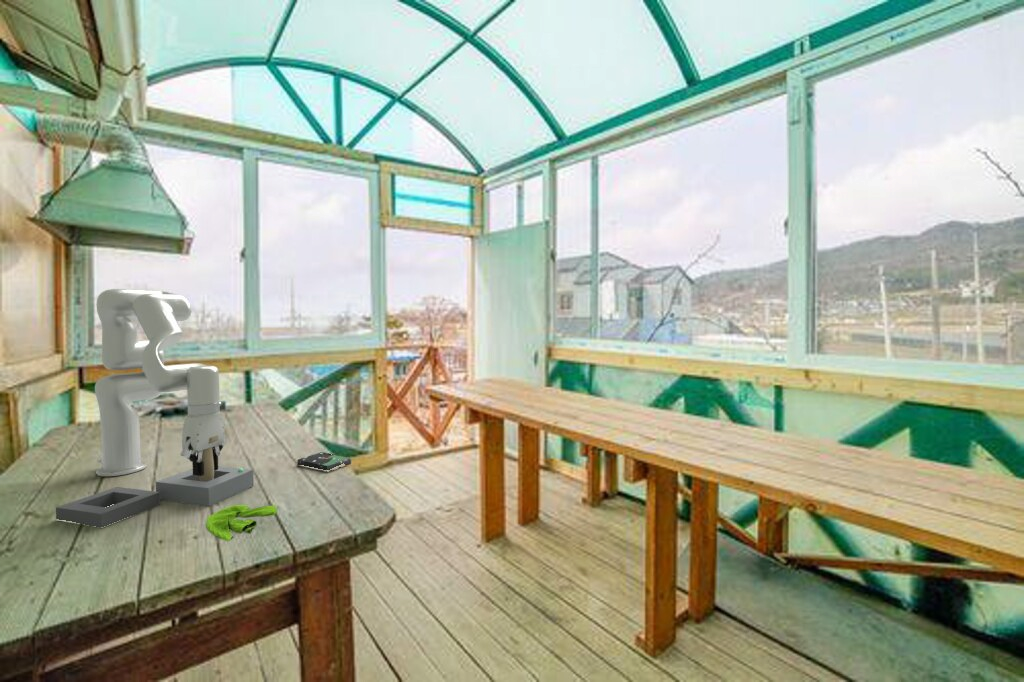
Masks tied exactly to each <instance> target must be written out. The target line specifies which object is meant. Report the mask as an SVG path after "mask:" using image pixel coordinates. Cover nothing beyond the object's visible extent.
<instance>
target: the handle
mask: <svg viewBox="0 0 1024 682" xmlns="http://www.w3.org/2000/svg"><path fill="white" fill-rule="evenodd" d="M209 440H210V442H208V444H210V443H213V442H215V441H217V440H218V436H214V437H211V438H209ZM201 461H203V462H204V475H202V476H198V480H199V481H203V482H208V481H210V480H213V479H214V460H213V450H212V448H209V449H206V450H203V453H202V460H201Z"/></svg>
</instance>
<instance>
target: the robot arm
mask: <svg viewBox="0 0 1024 682" xmlns="http://www.w3.org/2000/svg"><path fill="white" fill-rule="evenodd" d="M96 312H97V315H98V318H99V320H100V324H101V330H102V331H101V362H102V365H103V366H104V368H105V369H107V370H110V371H130V370H139V369H140V370H141V371H140V372H126V373H125V372H124V373H116V374H108V375H105V376H102V377H101V378H100V379H98V380H97V381H96V382H95V385H94V393H95V394H94V395H95V397H96V400H97V406H98V410H99V419H100V436H101V437H100V438H101V439H100V441H101V458H98V459H97V460H96V463H97V464H100V465H101V466H100V468H98V469H97V470H95V472H96V473H95V475H96V474H97V476H98V477H117V476H124V475H129V474H132V473H136V472H139V471H141V470H144V469H145V468H146V467H147V465H148V463H147V461H144V460H142V459H141V457H142V456H141V437H140V434H141V433H140V432H141V431H140V416H139V412H138V411H137V410H136V409H135V408H134V406H132V405H131V403H135V402H139V401H140V402H141V401H146V400H152V399H156V398H158V397H159V396H160V395H162V393H172V392H179V391H186V390H187V393H186V395H187V415H185V418H184V420H183V421H184V422H183V426H182V433H181V437H182V438H181V445H182V446H181V447H182V448H181V449H182V450H181V452H180V456H181V457H183V458H187V460H189V461H190V462H192V469H193V475H197V476H202V475H204V462H203V461H201V460H202V453H203V450H206V449H209V448H212V450H213V460H214V470H218V466H219V456H220V455H221V451H222V450H223V448H224V446H225V445H227V443H228V440H227V438H226V436H225V434H226V433H225V424H224V418H223V414H222V411H221V409H220V408H221V406H222V402H221V401H220V372H219V368H218V367H217V366H214V365H206V364H203V363H201V362H200V363H198V362H192V363H179V364H169V365H165V352H164V350H166V349H169V348H171V347H173V346H174V345H176V344H178V343H179V342H180V341H181V340H182V339H183V337H184V332H183V330H182V328H181V327H180V324H179V322H184V321H186V320H187V321H188V319H189V318H190V317H191V314H192V305H191V304H190V302H189V301H188V299H187V298H186V297H184V296H183V295H181V294H177V293H173V292H168V291H163V290H154V289H153V290H149V289H136V288H135V289H133V288H111V289H106V290H104V291H102V292H101V293H99V294H98V296H97V299H96ZM131 317H136V318H137V321H138V323H139V324H140V326H141V328H142V330H143V332H144V335H145V336H146V338H147V339H138V327H137V324H136V323H135V322H134V320H133V319H132V318H131ZM214 436H218V440H217V441H215V442H213V443H210V444H208V442H210V440H209V438H211V437H214Z"/></svg>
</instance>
